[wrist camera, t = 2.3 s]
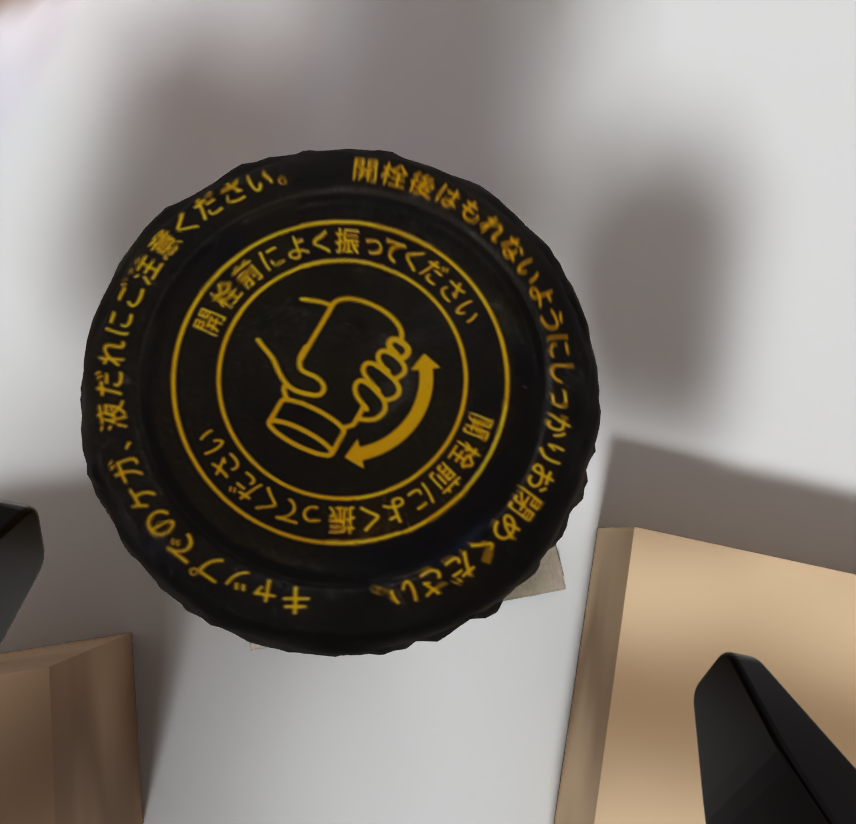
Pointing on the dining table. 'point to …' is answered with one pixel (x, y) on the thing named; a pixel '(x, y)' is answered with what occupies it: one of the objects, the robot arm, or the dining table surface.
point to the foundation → (691, 665)
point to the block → (70, 734)
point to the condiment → (340, 403)
